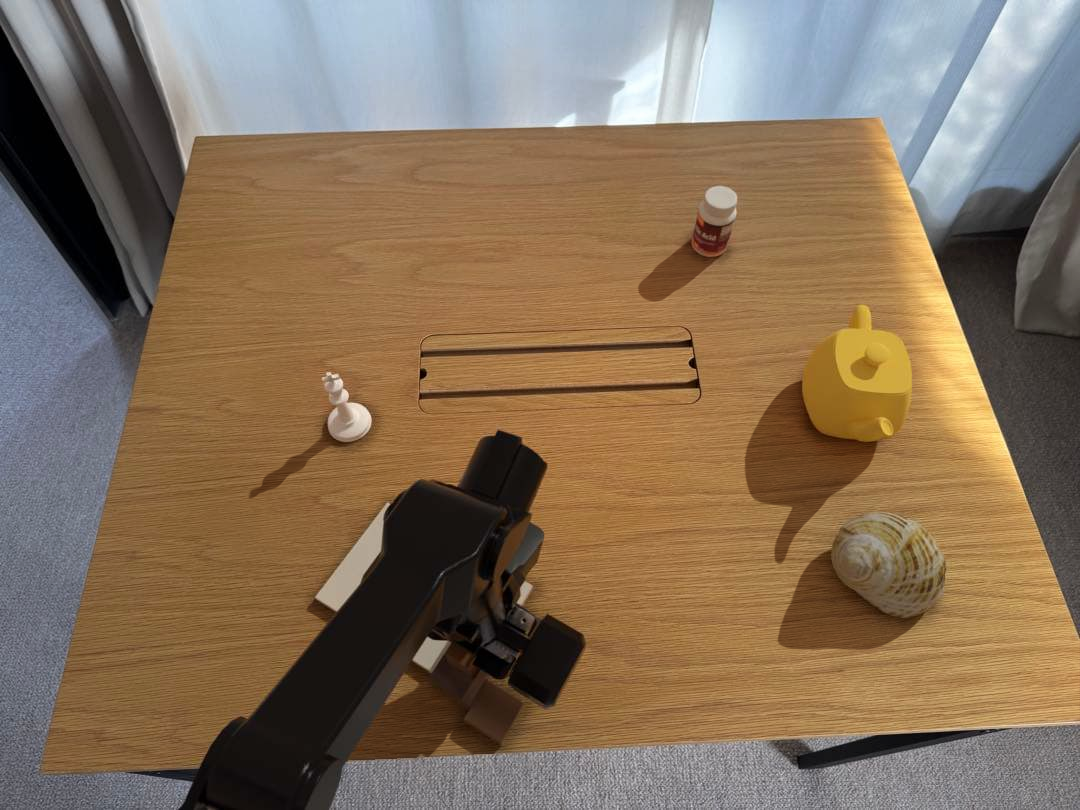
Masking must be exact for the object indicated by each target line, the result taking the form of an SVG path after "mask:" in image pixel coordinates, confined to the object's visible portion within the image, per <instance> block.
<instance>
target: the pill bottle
mask: <svg viewBox="0 0 1080 810" xmlns="http://www.w3.org/2000/svg"><path fill="white" fill-rule="evenodd" d="M702 200H703V201H702V202H701V203H700V205H699V207H698V211H697V215H696V219H695V224H694V229H693V233H692V237H691V246H692V248H693V250H694V251H695V252H696V253H697V254H699V255H700V256H703V257H707V258H714V257H718V256H721V255H723V254H724V253H725V252H726V251H727V248H728V245H729V242H730V238H731V235H732V232H733V228H734V226H735V221H736V218H737V214H738V213H737V203H738V194H737V193H736V192H735V191H734V190H733V189H732V188H730V187H727V186H725V185H724V186H723V185H716V186H712V187H710V188H708V189H707V190H706V191H705V194H704V197H703V199H702Z"/></svg>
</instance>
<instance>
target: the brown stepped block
mask: <svg viewBox="0 0 1080 810" xmlns="http://www.w3.org/2000/svg"><path fill="white" fill-rule="evenodd" d="M516 605H518V606H519V607H521V608H523V609H524V610H526V611H528V608H527V607H525V606H524V605H523V606H521V605H520V604H518V603H516ZM478 654H479V653H478ZM475 658H476V657H474V656H472V655H471V654H469V653H467V652H466V651H464V650H463V649H461V648H459V647H458V646H456V645H454V644H453V643H451V644H450V645H449V647H448V648H447V650H446V651H445V653H444V654H443V656H442V658H441V659H440V661H439V662H438V664H437V665H436V667H435V668H434V670H433V672H432V673H430V675H429V676H428V677H427V682H429V684H430V685H431V686H432V688H433V689H434V690H436V691H438V692H439V693H440V694H442V695H444V696H445V697H447V698H449V700H452V701H453V702H454V703H456V704H458V705H459V706H461V707H463V708H464V709H466V710H467V711H469V709H470V708H471V706H472V704H473V703H474V701H475V699H476V698H477V696H478V695H479V693H480V691H481V690H482V688H483V686H484V685H485V683H486V681H487V680H489V679H490V678H491V676H490V675H489V674H487V673H485V672H484V671H482V670H481V669H479V668H477V667H476V666H474V665H473V664H472V663H473V662H474V660H475Z"/></svg>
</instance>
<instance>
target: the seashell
mask: <svg viewBox="0 0 1080 810" xmlns="http://www.w3.org/2000/svg"><path fill="white" fill-rule="evenodd" d="M830 553H831V555H830V556H831V563H832V567H833V570H834V572H835V573H836V576H837V577H838V578H839V579H840V581H841V582H842V583H843V584H844V585H845V586H847V587H848V588H850V589H851V590H854V591H855V592H856V593H857V594H858V595H859V596H860V597H862V598H863V599H864V600H866V601H867V602H868V603H869V604H871V605H872V606H873V607H875V608H877V609H878V610H879V611H881V612H883V613H884V614H887V615H888V616H889V615H890V616H892V617H895V618H900V619H906V618H913V617H916V616H919V615H920V614H922V613H925V611H927V610H929V609H931V608H932V607H933V606H934V605H935V604H936V603H937V602H938V601H939V600H940V598H941V597H942V596H943V594H944V591H945V585H946V584H945V583H946V572H947V561H946V558H945V555H944V554H943V553H942V551H941V548H940V546H939V544H938V543H937V541H936V539H935V538H934V537H933V535H932V534H931V533H930V532H929V531H928V530H927V529H926V528H925V527H924V526H923V525H922V524H921V523H920V522H918V521H916V520H911V519H909V518H907V517H905V516H903V515H901V514H897V513H894V512H888V511H870V512H865V513H863V514H860V515H857V516H855V517H853V518H852V519H850V520H848V521H847V522H846V523H844V524H843V525H842V526H841V527H840V528H839V530H838V533H837V534H836V536H835V537H834V539H833V542H832V544H831V551H830Z"/></svg>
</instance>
